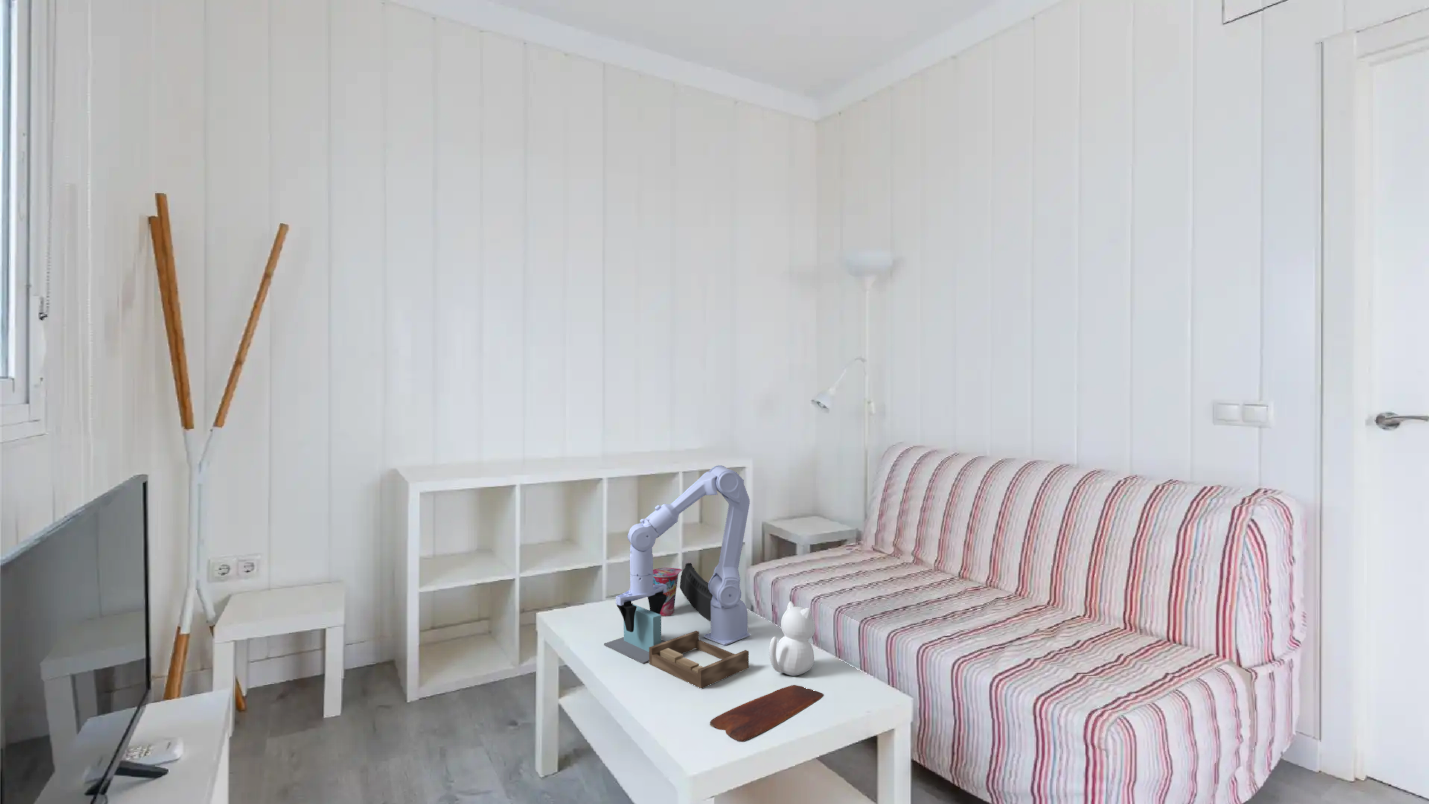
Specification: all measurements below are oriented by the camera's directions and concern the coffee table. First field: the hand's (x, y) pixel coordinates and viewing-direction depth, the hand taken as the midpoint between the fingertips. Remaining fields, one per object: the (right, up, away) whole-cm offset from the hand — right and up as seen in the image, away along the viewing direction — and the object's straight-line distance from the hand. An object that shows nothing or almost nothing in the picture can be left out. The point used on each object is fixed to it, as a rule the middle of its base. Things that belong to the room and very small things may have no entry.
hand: (642, 626), depth 175 cm
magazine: (+15, -4, +26) cm, 30 cm away
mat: (0, -5, 0) cm, 5 cm away
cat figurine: (+36, -6, -14) cm, 39 cm away
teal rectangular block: (0, -5, 0) cm, 5 cm away
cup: (+4, -4, +25) cm, 26 cm away
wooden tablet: (+29, -7, -32) cm, 44 cm away
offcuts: (+11, -6, -14) cm, 19 cm away
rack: (+14, -6, -11) cm, 19 cm away
